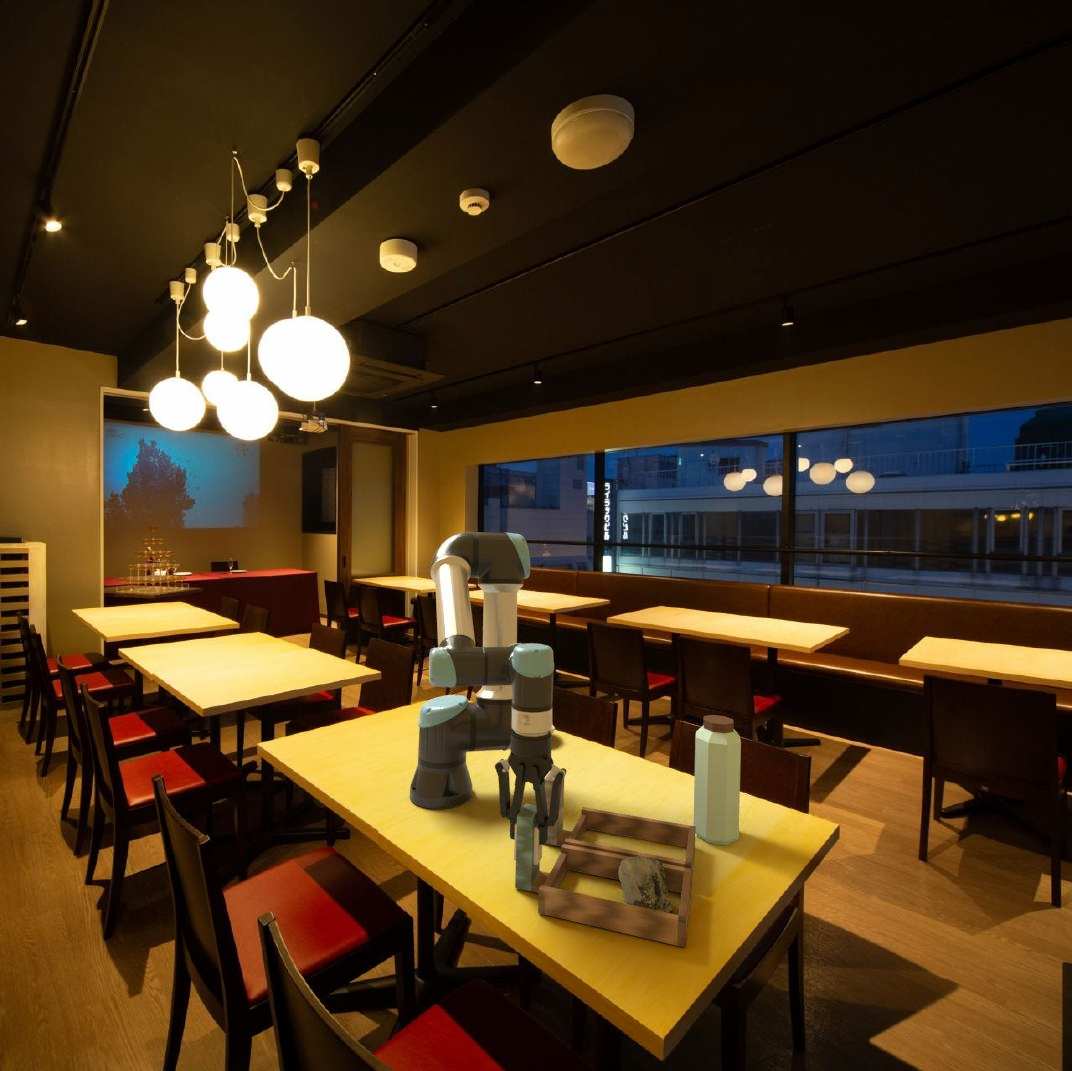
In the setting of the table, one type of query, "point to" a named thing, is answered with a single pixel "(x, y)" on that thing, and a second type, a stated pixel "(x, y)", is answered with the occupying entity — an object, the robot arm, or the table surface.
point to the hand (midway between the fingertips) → (528, 858)
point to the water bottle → (717, 781)
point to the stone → (644, 883)
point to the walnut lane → (591, 907)
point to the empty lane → (621, 831)
